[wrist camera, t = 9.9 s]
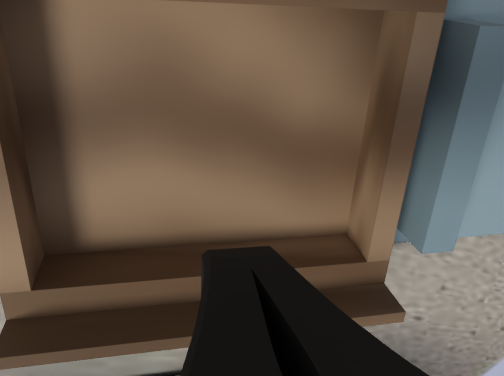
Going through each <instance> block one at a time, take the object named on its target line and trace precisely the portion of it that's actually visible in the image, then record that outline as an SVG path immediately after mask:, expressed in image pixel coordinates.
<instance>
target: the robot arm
mask: <svg viewBox="0 0 504 376" xmlns="http://www.w3.org/2000/svg"><path fill="white" fill-rule="evenodd" d="M177 376H429V375H428V374H426V373H425V372H423V371H422V370H420V369H419V368H417V367H416V366H414V365H413V364H411V363H410V362H408V361H407V360H405V359H404V358H403V357H401V356H400V355H398V354H397V353H396V352H394V351H393V350H391V349H390V348H389V347H387V346H386V345H385V344H384V343H382V342H381V341H380V340H378V339H377V338H376V337H374V336H373V335H372V334H371V333H369V332H368V331H367V330H365V329H364V328H363V327H361V326H360V325H359V324H358V323H356V322H355V321H354V320H353V319H351V318H350V317H349V316H348V315H347V314H345V313H344V312H343V311H342V310H341V309H339V308H338V307H337V306H336V305H335V304H333V303H332V302H331V301H330V300H329V299H328V298H326V297H325V296H324V295H323V294H322V293H321V292H320V291H318V290H317V289H316V288H315V287H314V286H313V285H312V284H311V283H310V282H308V281H307V280H306V279H305V278H304V277H303V276H302V275H301V274H300V273H299V272H298V271H296V270H295V269H294V268H293V267H292V266H291V265H290V264H289V263H288V262H287V261H286V260H285V259H284V258H283V257H281V256H280V255H279V254H278V253H277V252H276V251H275V250H274V249H273V248H272V247H271V246H259V247H244V248H229V249H214V250H207V251H206V252H205V253H204V254H202V255H201V300H200V305H199V310H198V314H197V319H196V324H195V328H194V332H193V335H192V339H191V342H190V345H189V349H188V352H187V355H186V359H185V362H184V365H183V369H182V372H181V375H177Z"/></svg>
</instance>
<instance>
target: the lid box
mask: <svg viewBox="0 0 504 376" xmlns="http://www.w3.org/2000/svg"><path fill="white" fill-rule="evenodd" d="M447 3H448V0H0V297H1V301H2V305H3V309H4V313H5V317H6V322H5V325H4V327H3V329H2V332H1V334H0V370H1V369H10V368H18V367H27V366H35V365H43V364H52V363H60V362H69V361H77V360H86V359H94V358H102V357H111V356H119V355H128V354H136V353H145V352H153V351H161V350H170V349H178V348H187V347H189V345H190V342H191V339H192V335H193V332H194V328H195V324H196V319H197V314H198V310H199V305H200V300H201V255H202V254H204V253H205V252H206V251H207V250H214V249H229V248H244V247H259V246H271V247H272V248H273V249H274V250H275V251H276V252H277V253H278V254H279V255H280V256H281V257H283V258H284V259H285V260H286V261H287V262H288V263H289V264H290V265H291V266H292V267H293V268H294V269H295V270H296V271H298V272H299V273H300V274H301V275H302V276H303V277H304V278H305V279H306V280H307V281H308V282H310V283H311V284H312V285H313V286H314V287H315V288H316V289H317V290H318V291H320V292H321V293H322V294H323V295H324V296H325V297H326V298H328V299H329V300H330V301H331V302H332V303H333V304H335V305H336V306H337V307H338V308H339V309H341V310H342V311H343V312H344V313H345V314H347V315H348V316H349V317H350V318H351V319H353V320H354V321H355V322H356V323H358V324H359V325H360V326H361V327H364V326H372V325H381V324H389V323H397V322H403V321H404V317H405V313H406V312H405V310H404V309H403V308H402V306H401V305H400V304H399V302H398V301H397V300H396V298H395V297H394V296H393V295H392V293H391V292H390V291H389V289H388V288H387V287H386V285H385V284H384V282H385V277H386V273H387V268H388V264H389V260H390V255H391V251H392V246H393V242H394V237H395V233H396V229H397V224H398V220H399V215H400V211H401V206H402V202H403V198H404V193H405V189H406V184H407V180H408V175H409V171H410V167H411V162H412V158H413V153H414V149H415V144H416V140H417V136H418V131H419V127H420V122H421V118H422V113H423V109H424V105H425V100H426V96H427V91H428V87H429V82H430V78H431V74H432V69H433V65H434V60H435V56H436V51H437V47H438V43H439V38H440V34H441V29H442V25H443V20H444V16H445V12H446V7H447Z"/></svg>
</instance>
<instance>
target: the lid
mask: <svg viewBox="0 0 504 376" xmlns="http://www.w3.org/2000/svg"><path fill="white" fill-rule="evenodd" d="M493 234H504V0H448V3H447V7H446V12H445V16H444V20H443V25H442V29H441V34H440V38H439V43H438V47H437V51H436V56H435V60H434V65H433V69H432V74H431V78H430V82H429V87H428V91H427V96H426V100H425V105H424V109H423V113H422V118H421V122H420V127H419V131H418V136H417V140H416V144H415V149H414V153H413V158H412V162H411V167H410V171H409V175H408V180H407V184H406V189H405V193H404V198H403V202H402V206H401V211H400V215H399V220H398V224H397V229H396V233H395V237H394V242H393V243H398V242H411V243H412V244H413V245H414V246H415V248H416V249H417V250H418V251H419V252H420V253H421V254H426V253H437V252H448V251H453V250H454V247H455V244H456V240H457V237H469V236H481V235H493Z"/></svg>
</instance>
